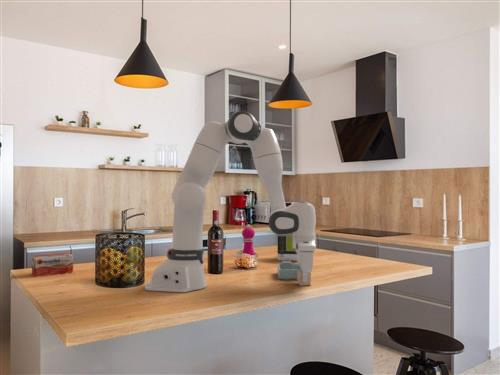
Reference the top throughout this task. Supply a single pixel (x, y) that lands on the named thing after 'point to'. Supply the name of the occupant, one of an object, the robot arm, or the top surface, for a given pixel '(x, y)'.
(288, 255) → the tea box
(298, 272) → the stone sandstone
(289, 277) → the tub
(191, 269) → the robot arm
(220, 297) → the top surface
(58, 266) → the medicine box
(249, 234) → the pepper mill
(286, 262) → the grey block
